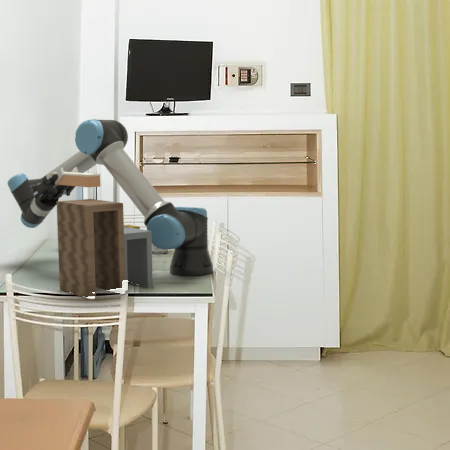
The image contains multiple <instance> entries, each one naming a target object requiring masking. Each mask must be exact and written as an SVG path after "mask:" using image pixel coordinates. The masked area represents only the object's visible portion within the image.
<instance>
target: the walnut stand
mask: <svg viewBox="0 0 450 450" xmlns="http://www.w3.org/2000/svg"><path fill="white" fill-rule="evenodd" d="M124 217H125V216H124V203H123V202H117V201H110V200H102V199H101V200H100V199H96V198H94V199H93V198H85V199H71V200H58V201H57V205H56V219H57V220H56V221H57V222H56V223H57V225H56V226H57V247H58V248H57V249H58V250H57V252H58V273H59V274H58V277H59V290H61V291H63V292H66V291H67V293H69V292H71V293H70V294H72V293H73V294H72V295H75V296H78V297H81V296H85V297H88V296H96V297H97V289H100V290H103V291H106V290H110V289H116V288H122V281H123V280H125V255H124V225H125V224H124V223H125V222H124V219H125V218H124ZM92 292H96V294H93V293H92ZM114 294H116V295H119V294H120V293H114Z"/></svg>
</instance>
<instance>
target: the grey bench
mask: <svg viewBox="0 0 450 450" xmlns="http://www.w3.org/2000/svg"><path fill="white" fill-rule="evenodd" d="M124 255H125V280H128V281H129V282H128V283H131V284H135V285H137V284H138V285H139V286H142V287H144V286H145V288H153V286H154V284H153V283H154V282H153V281H154V280H153V279H154V278H153V253H152V231H149V230H147V229H142V228H140V229H137V228H131V227H125V226H124Z"/></svg>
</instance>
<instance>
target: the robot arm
mask: <svg viewBox="0 0 450 450" xmlns="http://www.w3.org/2000/svg"><path fill="white" fill-rule="evenodd" d="M74 134H75V138H74V141H75V146H76V148H77V150H78V151H77V152H76V153H75V154H73V155H71V156H70V157H69V158H68V159H66V160H64V161H63V162H62V163H61V164H59V165H58V166H56V167H55V168H53V169H52V170H51V171H48V173H46V174H45V175H44V176H42V177H40V178H35V179H34V178H33V179H29V177H28V176H27V174H25V173H18V174H15V175H13V176H11V177H10V178H9V179H8V181H7V186H8V188H9V190H10V193H11V194H12V197H13V198H14V199H15V201H16V203H17V204H18V205H17V206H18V207H19V209H20V211H21V215H20V221H21V223H22V225H24V227H27V228H28V229H34V228H37V227H38V226H39V225H41V224H42V223H43V222H44V220H45V219H46V218H47V216H48V215H49V214H50V213H51V211H52V210H54V208H55V207H57V201H60V198H62V197H63V196H67V197H69V196H70V195H71V193H72V192H73V190H74V189H75V188H76V187H77V186H68V185H57V184H58V182H59V181H60V180H61V179H62V178H63V176H64V175H65V174H64V172H75V173H87V171H89V170H91V169H92V168H93V167H95V166H96V165H99V166H101V165H102V166H104V167H105V168H106V170H107V171H108V172H109V174H110V175H111V177H113V179H114V180H115V181H116V183H117V184H118V185H119V186H120V188H121V189H122V190H123V192H124V193H125V194H126V196H128V198H129V199H130V201H132V203H133V204H134V205H135V207H136V208H137V210H138V211H139V212H140V213H141V214H142V216H143V217H144V220H143V224H144V226H145V227H146V230H149V231H152V244H153V245H154V246H156V247H158V248H160V249H165V250H166V249H168V250H174V251H173V252H174V253H173V255H172V258H171V262H170V265H169V273H170V274H172V275H177V276H186V277H189V276H190V277H191V276H192V277H193V276H194V277H195V276H203V275H210V274H211V273H214V264H213V262H212V259H211V256H210V254H209V253H210V252H209V249H208V248H209V247H208V242H209V241H208V221H209V217H208V211H207V209H206V208H205V207H195V206H194V207H191V206H175V205H174V204H173V203H172V202H171V201H165V200H164V199H163V197H162V196H161V195H160V194H159V192H158V191H157V190H156V188H155V187H154V186H153V185H152V184H151V182H150V181H149V180H148V179H147V178H146V176H145V175H144V173H143V172H142V171H141V170H140V169H139V167H138V166H137V165H136V163H135V162H134V161H133V160H132V159H131V157H130V156H129V154H128V153H127V152H126V151H125V150H124V148H125V147H126V146H127V144H128V140H129V135H128V134H129V133H128V131H127V128H126V127H125V125H124V124H122V123H121V122H120V121H118V120H115V119H96V118H91V119H86V120H85V121H82V122H80V124H79V125H78V126H77V129H76V130H75V133H74ZM51 172H57V173H56V174H54V175H53V176H52V177H51Z"/></svg>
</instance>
